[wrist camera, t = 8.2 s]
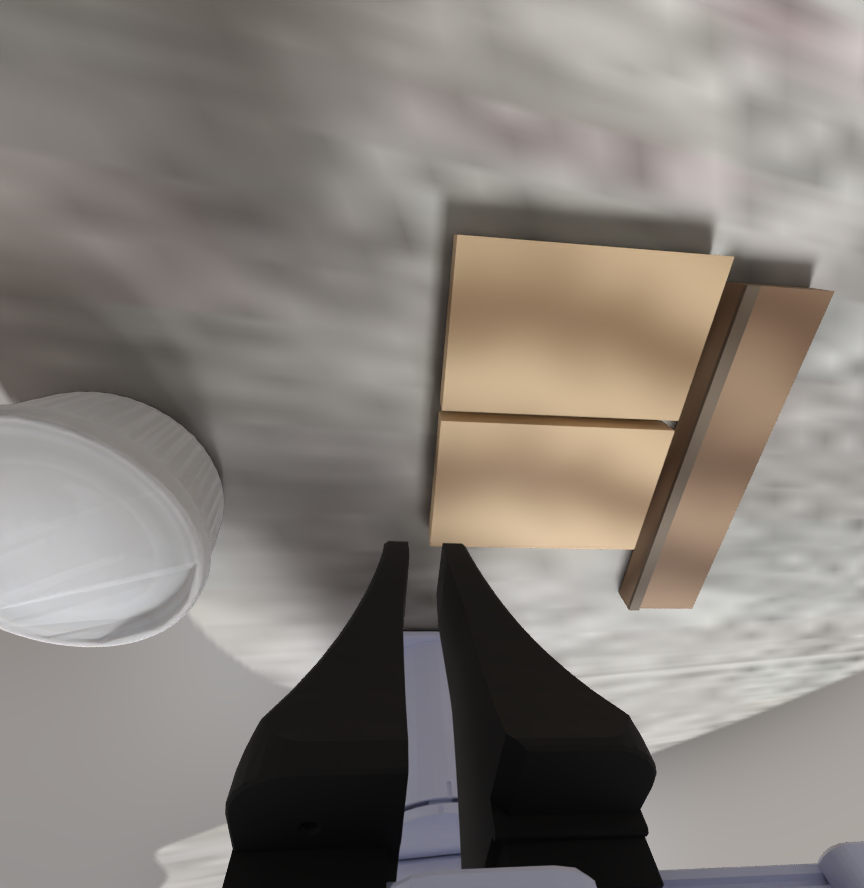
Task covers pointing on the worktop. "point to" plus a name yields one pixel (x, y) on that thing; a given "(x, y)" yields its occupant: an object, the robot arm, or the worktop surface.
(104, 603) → the ramekin
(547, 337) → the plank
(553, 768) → the robot arm
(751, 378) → the floor panel
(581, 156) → the worktop surface
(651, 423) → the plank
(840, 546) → the worktop surface
